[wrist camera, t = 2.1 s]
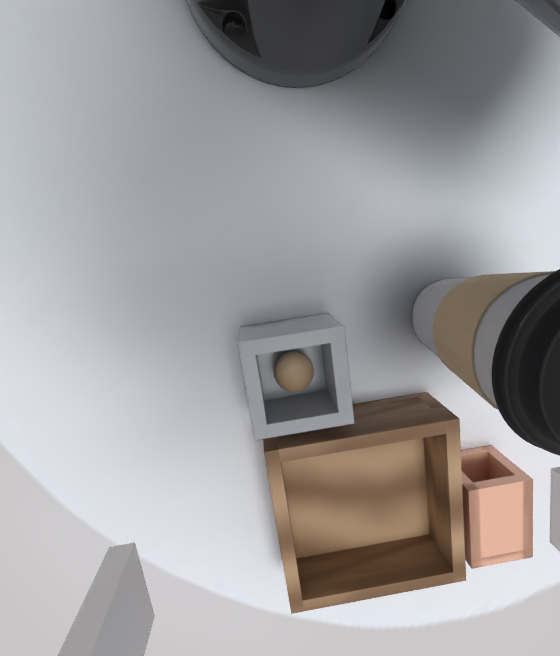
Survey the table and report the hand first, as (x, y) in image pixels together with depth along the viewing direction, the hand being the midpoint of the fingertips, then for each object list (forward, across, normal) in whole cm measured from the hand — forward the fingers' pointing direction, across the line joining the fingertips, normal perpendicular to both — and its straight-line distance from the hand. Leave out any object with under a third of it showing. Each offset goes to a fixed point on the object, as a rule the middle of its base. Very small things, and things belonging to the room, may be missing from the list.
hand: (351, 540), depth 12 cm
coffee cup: (+19, +13, +2) cm, 23 cm away
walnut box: (+19, +4, -12) cm, 22 cm away
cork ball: (+18, 0, 0) cm, 18 cm away
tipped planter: (+19, +14, -14) cm, 27 cm away
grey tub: (+19, 0, 0) cm, 19 cm away
